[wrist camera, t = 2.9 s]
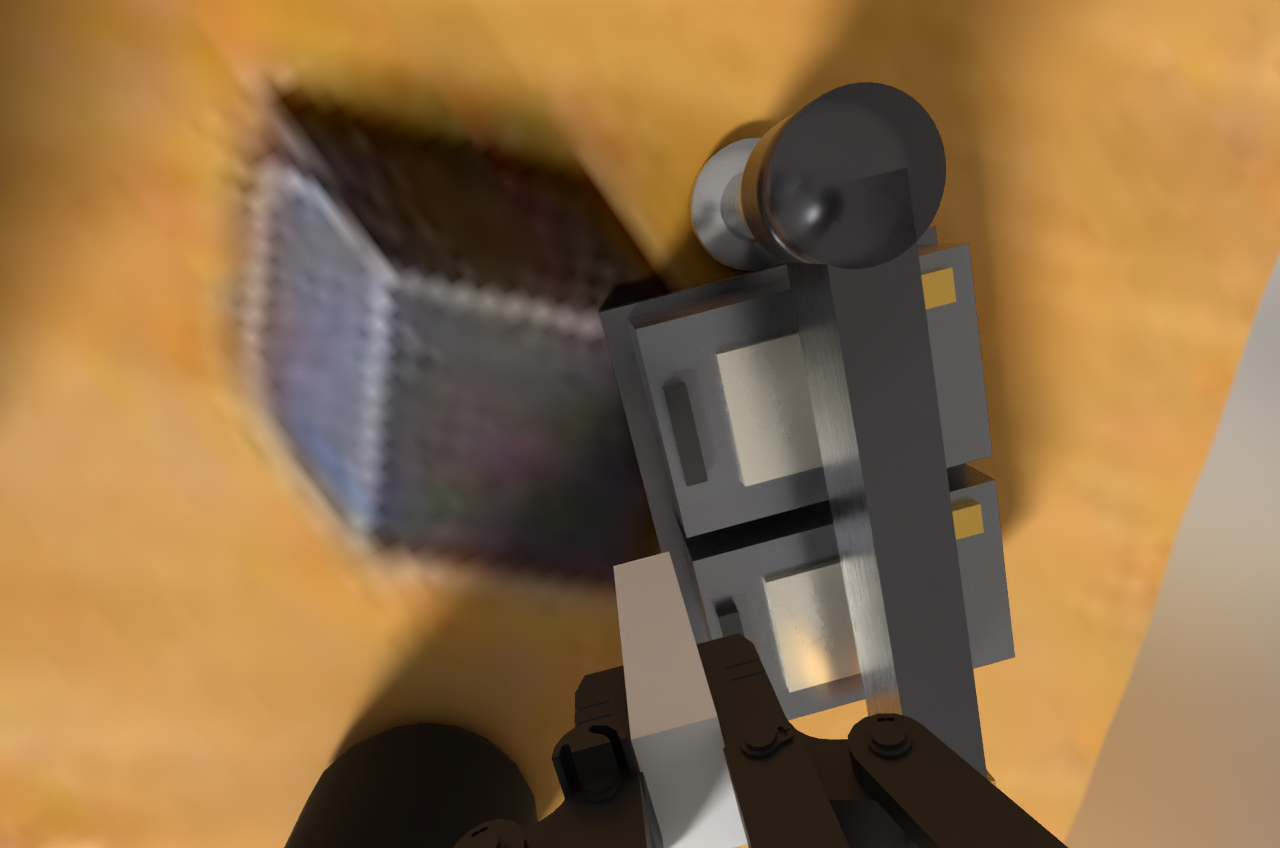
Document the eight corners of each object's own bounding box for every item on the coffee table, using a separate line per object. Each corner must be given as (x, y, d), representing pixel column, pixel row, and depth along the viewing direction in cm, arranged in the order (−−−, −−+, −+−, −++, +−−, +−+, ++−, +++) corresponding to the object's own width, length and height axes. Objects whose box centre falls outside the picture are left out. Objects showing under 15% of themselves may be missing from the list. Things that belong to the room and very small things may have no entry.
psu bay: (693, 677, 33) (717, 762, 27) (598, 310, 28) (604, 324, 23) (970, 601, 33) (1048, 669, 28) (923, 226, 28) (1005, 221, 23)
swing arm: (727, 131, 20) (760, 105, 16) (872, 95, 20) (936, 61, 16) (854, 785, 26) (898, 868, 22) (965, 754, 26) (1025, 832, 23)
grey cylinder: (703, 283, 28) (746, 293, 21) (676, 157, 27) (712, 125, 20) (819, 253, 28) (899, 254, 21) (798, 127, 27) (876, 84, 20)
